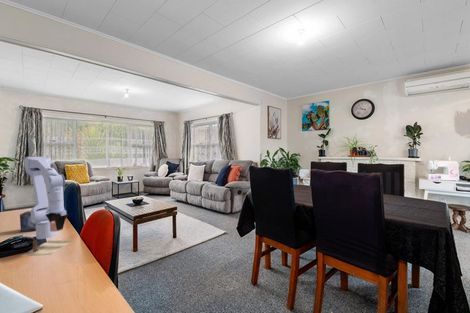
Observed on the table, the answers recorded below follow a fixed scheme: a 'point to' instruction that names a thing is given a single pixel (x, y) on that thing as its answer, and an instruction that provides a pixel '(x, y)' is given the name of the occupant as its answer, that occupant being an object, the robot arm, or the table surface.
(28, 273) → the table surface
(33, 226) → the small box
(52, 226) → the light brown wooden block
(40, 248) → the board
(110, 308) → the table surface
